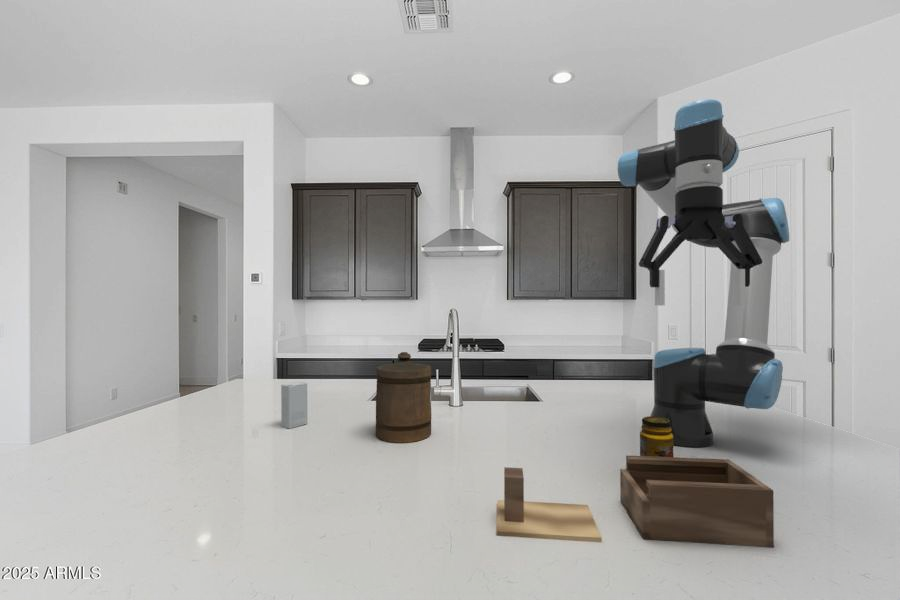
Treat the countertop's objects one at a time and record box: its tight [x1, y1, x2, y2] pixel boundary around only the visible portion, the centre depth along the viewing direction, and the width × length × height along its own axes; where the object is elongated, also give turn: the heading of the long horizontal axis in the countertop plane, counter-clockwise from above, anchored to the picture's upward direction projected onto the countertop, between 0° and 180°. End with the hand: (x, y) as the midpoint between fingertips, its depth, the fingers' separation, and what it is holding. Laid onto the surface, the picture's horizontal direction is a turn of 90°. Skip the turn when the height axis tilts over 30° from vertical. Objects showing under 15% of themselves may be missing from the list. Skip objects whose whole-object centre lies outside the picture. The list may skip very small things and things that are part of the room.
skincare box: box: [280, 381, 308, 429], centre depth 121 cm, size 6×4×12 cm
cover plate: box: [496, 466, 603, 543], centre depth 68 cm, size 10×15×8 cm, turn 83°
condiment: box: [639, 415, 675, 457], centre depth 85 cm, size 7×8×12 cm
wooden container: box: [375, 351, 432, 444], centre depth 113 cm, size 15×15×22 cm
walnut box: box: [619, 454, 775, 548], centre depth 68 cm, size 12×18×8 cm, turn 83°
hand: (698, 305), depth 77 cm, fingers open, 13 cm apart
